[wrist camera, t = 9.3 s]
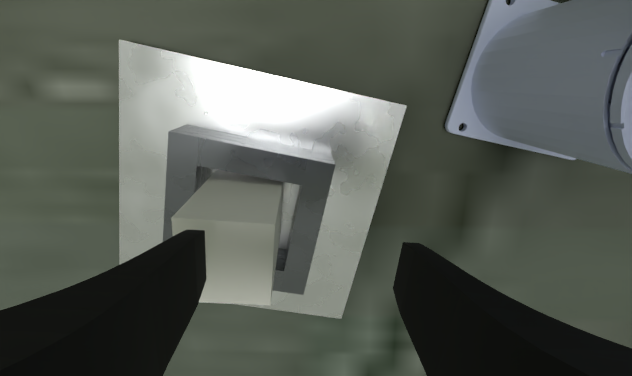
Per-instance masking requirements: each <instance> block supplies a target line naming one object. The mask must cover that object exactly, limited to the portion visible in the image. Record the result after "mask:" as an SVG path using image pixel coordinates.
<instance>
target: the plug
mask: <svg viewBox="0 0 632 376" xmlns="http://www.w3.org/2000/svg"><path fill="white" fill-rule="evenodd" d="M283 186H284V182H281V181H276V180H270V179H265V178H260V177H254V176H249V175H244V174H238V173H233V172H228V171H222V170H216V171H215V172H214V173H213V174H212V175H211V177H210V178H209V179H208V180H207V181H206V182H205V183H204V184H203V185H202V186H201V187H200V188H199V189H198V190H197V191H196V192H195V193H194V194H193V195H192V196H191V198H190V199H189V200H188V201H187V202H186V203H185V204H184V205H183V206H182V207H181V208H180V209H179V210H178V211H177V212H176V213H175V214H174V215H173V216H172V218H171V221H172V234H173V236H175V235H176V234H178V233H180V232H182V231H185V230H187V229H188V230H205V252H206V282H205V285H204V288H203V291H202V294H201V297H200V300H199V302H203V303H226V304H249V305H271V298H272V291H273V283H274V276H275V268H276V261H277V254H278V246H279V239H280V232H281V217H282V202H283Z"/></svg>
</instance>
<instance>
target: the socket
mask: <svg viewBox="0 0 632 376" xmlns="http://www.w3.org/2000/svg"><path fill="white" fill-rule="evenodd" d="M406 107H407V106H406V105H402V104H397V103H393V102H389V101H384V100H380V99H376V98H371V97H367V96H363V95H358V94H354V93H350V92H345V91H341V90H336V89H332V88H328V87H323V86H319V85H315V84H310V83H306V82H302V81H297V80H293V79H289V78H284V77H280V76H276V75H271V74H267V73H263V72H258V71H254V70H250V69H245V68H241V67H236V66H232V65H228V64H223V63H219V62H215V61H210V60H206V59H202V58H197V57H193V56H189V55H184V54H180V53H176V52H171V51H167V50H163V49H158V48H154V47H150V46H145V45H141V44H137V43H132V42H128V41H123V40H119V247H120V264H122V263H124V262H126V261H128V260H130V259H132V258H134V257H136V256H138V255H140V254H142V253H144V252H146V251H147V250H149V249H151V248H153V247H155V246H157V245H158V244H160V243H162V242H164V241H166V240H167V239H169V238H171V237H173V234H172V221H171V218H172V216H173V215H174V214H175V213H176V212H177V211H178V210H179V209H180V208H181V207H182V206H183V205H184V204H185V203H186V202H187V201H188V200H189V199H190V198H191V196H192V195H193V194H194V193H195V192H196V191H197V190H198V189H199V188H200V187H201V186H202V185H203V184H204V183H205V182H206V181H207V180H208V179H209V178H210V177H211V175H212V174H213V173H214V172H215V171H216V170H222V171H228V172H233V173H238V174H244V175H249V176H254V177H260V178H265V179H270V180H276V181H281V182H284V186H283V202H282V217H281V232H280V239H279V246H278V254H277V261H276V268H275V276H274V283H273V291H272V298H271V305H249V304H237V305H244V306H252V307H259V308H266V309H274V310H281V311H288V312H296V313H303V314H310V315H318V316H325V317H332V318H339V319H341V318H342V315H343V312H344V308H345V305H346V302H347V299H348V295H349V292H350V289H351V286H352V282H353V279H354V276H355V273H356V269H357V266H358V263H359V260H360V256H361V253H362V250H363V247H364V243H365V240H366V237H367V234H368V230H369V227H370V224H371V221H372V217H373V214H374V211H375V208H376V204H377V201H378V198H379V194H380V191H381V188H382V185H383V181H384V178H385V175H386V172H387V168H388V165H389V162H390V159H391V155H392V152H393V149H394V146H395V142H396V139H397V136H398V133H399V129H400V126H401V123H402V120H403V116H404V113H405V110H406Z"/></svg>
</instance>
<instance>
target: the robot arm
mask: <svg viewBox="0 0 632 376" xmlns="http://www.w3.org/2000/svg"><path fill="white" fill-rule="evenodd" d="M462 123H463V125H464V127H463V129H462V130H460V131H459V125H460V124H462ZM445 129H446V131H447V132H449V133H452V134H457V135H461V136H466V137H470V138H475V139H479V140H484V141H488V142H493V143H497V144H502V145H506V146H511V147H515V148H520V149H524V150H529V151H533V152H538V153H542V154H547V155H551V156H556V157H560V158H565V159H569V160H575V159H580V160H584V161H587V162H591V163H594V164H598V165H601V166H605V167H609V168H612V169H616V170H619V171H623V172H627V173H630V174H632V0H571V1H567V2H564V3H558V2H554V1H551V0H511V2H510V4H509V5H507V4H506V0H489V2H488V4H487V7H486V10H485V13H484V16H483V18H482V21H481V24H480V27H479V30H478V33H477V35H476V38H475V41H474V44H473V47H472V49H471V52H470V55H469V58H468V61H467V63H466V66H465V69H464V72H463V75H462V78H461V80H460V83H459V86H458V89H457V92H456V94H455V97H454V100H453V103H452V106H451V108H450V111H449V114H448V117H447V120H446V123H445ZM205 282H206V252H205V230H188V229H187V230H185V231H182V232H180V233H178V234H176V235H175V236H173V237H171V238H169V239H167V240H166V241H164V242H162V243H160V244H158V245H157V246H155V247H153V248H151V249H149V250H147V251H146V252H144V253H142V254H140V255H138V256H136V257H134V258H132V259H130V260H128V261H126V262H124V263H122V264H120V265H118V266H116V267H114V268H112V269H110V270H108V271H106V272H104V273H101V274H99V275H97V276H95V277H92V278H90V279H88V280H85V281H83V282H80V283H78V284H75V285H73V286H70V287H68V288H65V289H63V290H60V291H57V292H54V293H51V294H48V295H46V296H43V297H40V298H37V299H34V300H31V301H28V302H25V303H22V304H20V305H17V306H13V307H10V308H7V309H4V310H0V376H163V374H164V372H165V370H166V368H167V365H168V363H169V361H170V359H171V357H172V355H173V353H174V351H175V349H176V347H177V345H178V344H179V342H180V340H181V338H182V336H183V334H184V332H185V330H186V328H187V326H188V324H189V322H190V320H191V317H192V315H193V313H194V311H195V309H196V307H197V305H198V303H199V300H200V297H201V294H202V291H203V288H204V285H205ZM393 290H394V294H395V298H396V301H397V305H398V308H399V311H400V314H401V317H402V319H403V322H404V324H405V326H406V329H407V331H408V333H409V335H410V338H411V340H412V342H413V345H414V347H415V349H416V351H417V354H418V356H419V358H420V361H421V363H422V365H423V367H424V370H425V372H426V375H427V376H632V349H631V348H628V347H626V346H623V345H620V344H617V343H614V342H612V341H609V340H606V339H603V338H601V337H598V336H595V335H593V334H590V333H588V332H585V331H583V330H580V329H577V328H575V327H573V326H570V325H568V324H566V323H563V322H561V321H559V320H556V319H554V318H552V317H549V316H547V315H545V314H543V313H540V312H538V311H536V310H534V309H532V308H530V307H528V306H526V305H524V304H522V303H520V302H518V301H516V300H514V299H512V298H510V297H508V296H506V295H504V294H502V293H501V292H499V291H497V290H495V289H494V288H492V287H490V286H488V285H487V284H485V283H483V282H481V281H480V280H478V279H476V278H475V277H473V276H471V275H470V274H468V273H467V272H465V271H463V270H462V269H460V268H459V267H457V266H456V265H454V264H453V263H451V262H449V261H448V260H446V259H445V258H443V257H442V256H440V255H439V254H437V253H435V252H434V251H432V250H431V249H429V248H427V247H425V246H424V245H422V244H419V243H406V242H403V245H402V249H401V254H400V258H399V263H398V268H397V272H396V277H395V281H394V286H393Z"/></svg>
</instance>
